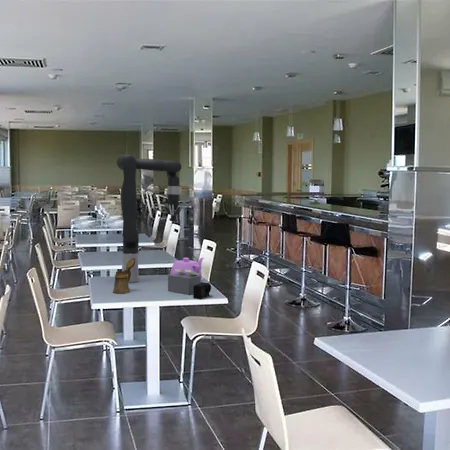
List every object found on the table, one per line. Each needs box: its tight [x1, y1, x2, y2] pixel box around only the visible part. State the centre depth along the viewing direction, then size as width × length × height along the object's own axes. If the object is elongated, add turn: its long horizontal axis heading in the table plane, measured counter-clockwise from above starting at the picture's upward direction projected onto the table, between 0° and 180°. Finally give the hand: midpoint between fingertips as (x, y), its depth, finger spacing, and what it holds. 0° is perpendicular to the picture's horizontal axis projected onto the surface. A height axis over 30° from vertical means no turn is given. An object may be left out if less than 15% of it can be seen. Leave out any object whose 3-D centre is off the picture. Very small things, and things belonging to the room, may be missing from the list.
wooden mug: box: [112, 258, 135, 295], centre depth 321 cm, size 9×14×18 cm, turn 137°
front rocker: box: [185, 269, 198, 275], centre depth 323 cm, size 7×4×2 cm, turn 145°
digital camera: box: [192, 281, 212, 300], centre depth 311 cm, size 10×5×7 cm, turn 155°
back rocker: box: [175, 269, 187, 274], centre depth 327 cm, size 7×4×2 cm, turn 144°
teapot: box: [169, 257, 205, 279], centre depth 349 cm, size 23×21×15 cm
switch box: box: [167, 273, 202, 296], centre depth 324 cm, size 10×15×9 cm, turn 54°
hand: (173, 221), depth 364 cm, fingers closed
